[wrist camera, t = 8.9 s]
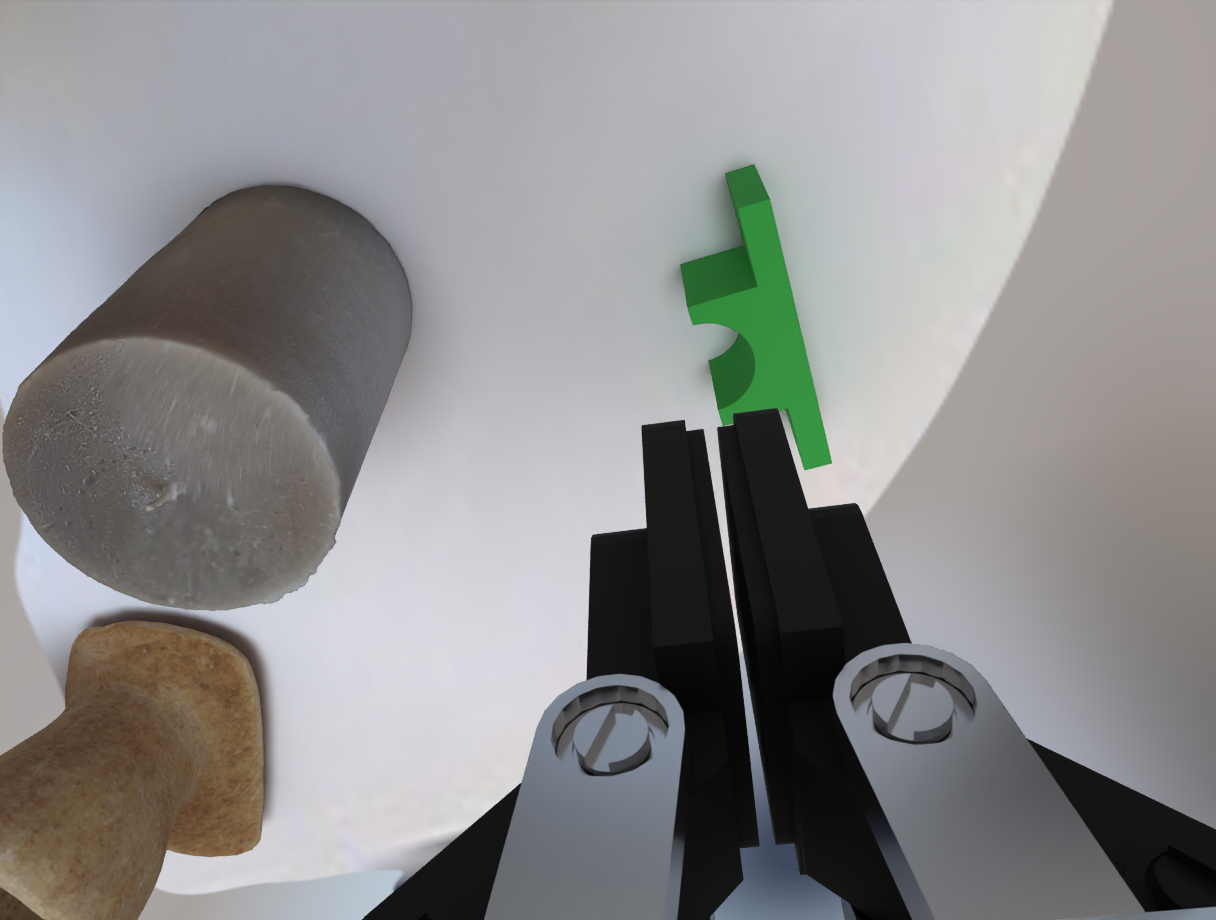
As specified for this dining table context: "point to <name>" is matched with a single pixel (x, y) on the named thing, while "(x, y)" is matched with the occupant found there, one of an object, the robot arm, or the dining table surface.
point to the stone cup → (131, 773)
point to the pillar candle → (216, 405)
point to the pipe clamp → (757, 322)
